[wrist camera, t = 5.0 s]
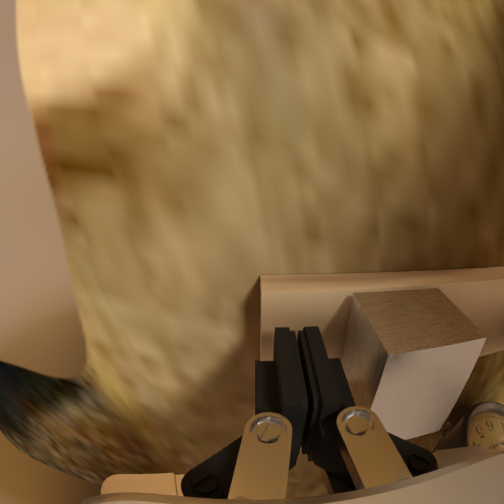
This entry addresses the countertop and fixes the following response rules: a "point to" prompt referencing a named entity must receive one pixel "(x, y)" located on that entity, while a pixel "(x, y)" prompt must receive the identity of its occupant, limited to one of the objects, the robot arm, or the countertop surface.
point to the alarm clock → (476, 428)
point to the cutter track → (345, 284)
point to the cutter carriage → (409, 357)
